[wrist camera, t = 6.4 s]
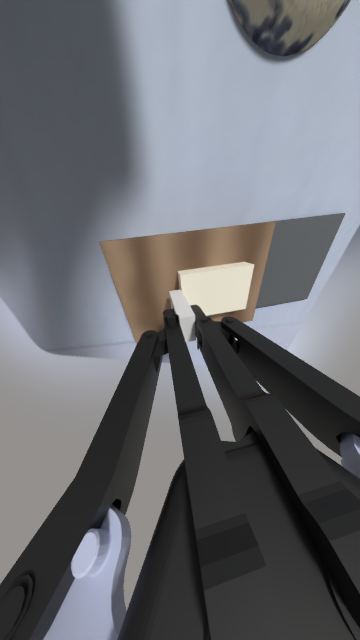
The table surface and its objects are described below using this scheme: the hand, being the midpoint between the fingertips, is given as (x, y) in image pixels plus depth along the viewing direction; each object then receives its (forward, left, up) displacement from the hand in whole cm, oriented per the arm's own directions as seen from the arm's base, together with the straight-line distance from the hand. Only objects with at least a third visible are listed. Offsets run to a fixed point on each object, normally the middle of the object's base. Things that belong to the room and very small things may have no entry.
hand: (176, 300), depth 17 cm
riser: (+3, 0, -6) cm, 6 cm away
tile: (+5, 0, -2) cm, 5 cm away
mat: (+20, 0, -6) cm, 21 cm away
